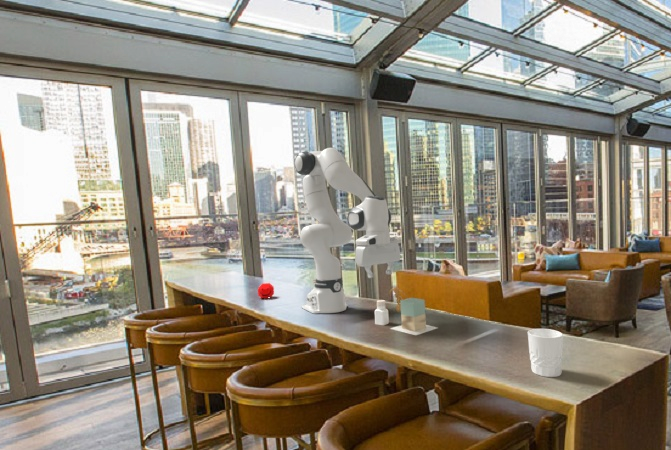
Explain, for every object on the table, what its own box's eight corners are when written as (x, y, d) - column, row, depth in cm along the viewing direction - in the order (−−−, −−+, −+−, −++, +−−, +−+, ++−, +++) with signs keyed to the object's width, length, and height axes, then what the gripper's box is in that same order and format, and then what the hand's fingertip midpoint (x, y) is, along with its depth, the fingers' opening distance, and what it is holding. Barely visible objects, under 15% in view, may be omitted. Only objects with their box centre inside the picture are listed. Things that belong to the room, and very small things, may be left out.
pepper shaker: (383, 328, 149) (382, 302, 149) (374, 326, 152) (373, 301, 151) (389, 325, 152) (388, 300, 152) (380, 324, 155) (379, 299, 154)
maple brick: (401, 328, 144) (401, 314, 144) (413, 324, 148) (412, 311, 147) (414, 331, 139) (414, 317, 139) (426, 327, 143) (425, 313, 143)
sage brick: (401, 314, 144) (400, 300, 144) (412, 311, 148) (411, 297, 147) (413, 317, 139) (413, 302, 139) (425, 313, 143) (424, 299, 143)
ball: (258, 300, 213) (257, 285, 213) (259, 297, 221) (258, 283, 221) (273, 299, 213) (272, 284, 213) (274, 296, 221) (273, 282, 221)
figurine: (411, 313, 169) (410, 284, 168) (404, 316, 164) (402, 286, 164) (395, 310, 174) (393, 283, 174) (387, 313, 170) (385, 285, 169)
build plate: (389, 331, 144) (389, 328, 144) (412, 324, 152) (412, 321, 152) (415, 338, 135) (415, 335, 135) (438, 330, 142) (438, 327, 142)
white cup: (555, 365, 106) (553, 328, 106) (570, 378, 98) (568, 337, 98) (524, 366, 107) (522, 329, 106) (536, 378, 99) (535, 338, 99)
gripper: (391, 237, 160) (393, 271, 160) (351, 241, 147) (354, 278, 148) (403, 236, 155) (405, 272, 155) (363, 241, 142) (365, 280, 143)
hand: (380, 275), depth 151 cm, fingers open, 8 cm apart
